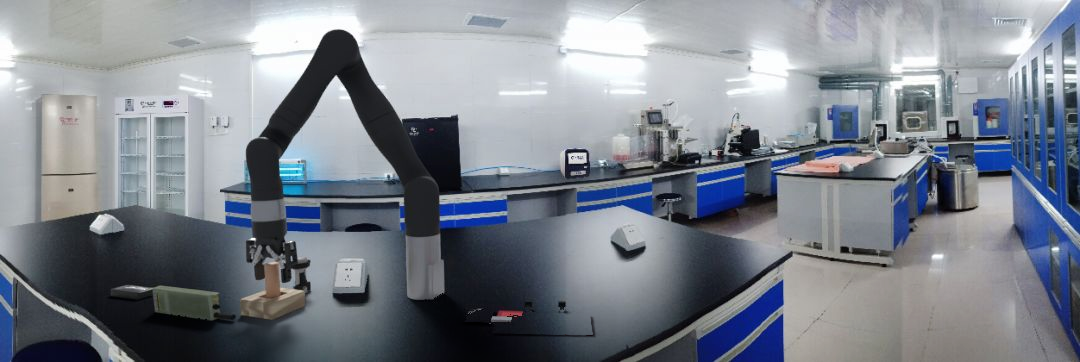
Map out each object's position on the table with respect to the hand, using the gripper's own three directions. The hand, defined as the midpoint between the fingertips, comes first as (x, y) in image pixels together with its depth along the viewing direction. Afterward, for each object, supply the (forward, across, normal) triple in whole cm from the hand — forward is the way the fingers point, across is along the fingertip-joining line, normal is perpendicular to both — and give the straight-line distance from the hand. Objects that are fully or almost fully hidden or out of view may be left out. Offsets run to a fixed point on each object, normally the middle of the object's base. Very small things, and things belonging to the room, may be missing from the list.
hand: (273, 280), depth 116 cm
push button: (+8, +4, -12) cm, 15 cm away
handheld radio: (+8, +16, +9) cm, 20 cm away
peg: (+8, 0, 0) cm, 8 cm away
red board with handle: (+9, -64, -13) cm, 66 cm away
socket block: (+8, 0, 0) cm, 8 cm away
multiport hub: (+8, +48, +4) cm, 48 cm away
